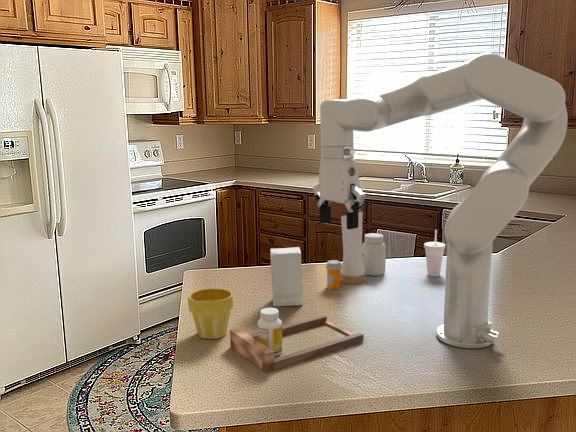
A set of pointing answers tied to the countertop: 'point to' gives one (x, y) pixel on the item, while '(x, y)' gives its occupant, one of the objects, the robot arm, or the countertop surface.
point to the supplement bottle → (270, 330)
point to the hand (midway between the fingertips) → (338, 225)
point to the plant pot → (211, 311)
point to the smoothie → (434, 256)
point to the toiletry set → (357, 257)
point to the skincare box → (286, 276)
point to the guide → (265, 355)
